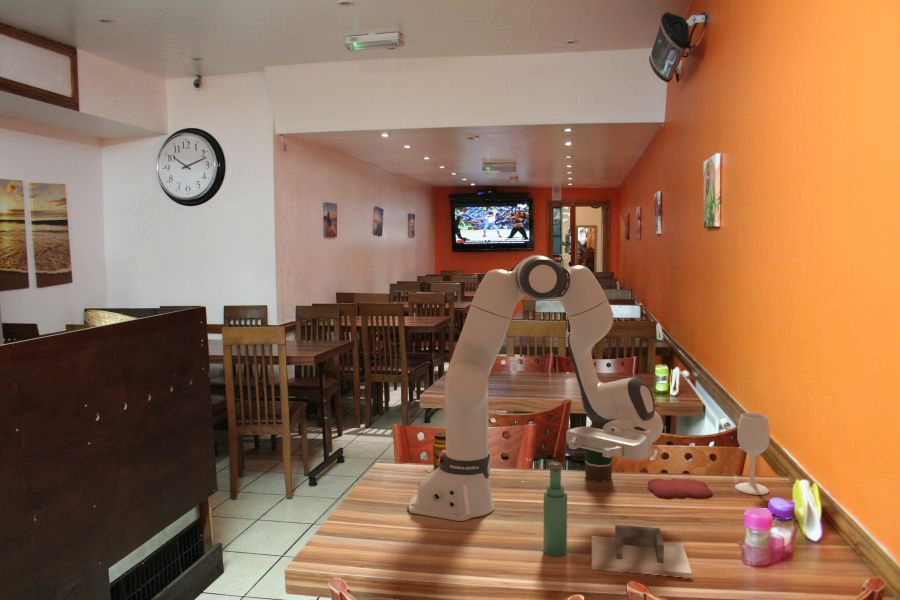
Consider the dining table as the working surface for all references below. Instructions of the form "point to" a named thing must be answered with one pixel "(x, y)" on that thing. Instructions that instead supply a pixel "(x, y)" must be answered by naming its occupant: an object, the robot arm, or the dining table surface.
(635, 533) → the bottle stand
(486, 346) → the robot arm
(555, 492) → the bottle
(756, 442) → the wineglass
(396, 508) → the dining table surface
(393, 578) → the dining table surface
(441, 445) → the condiment
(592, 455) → the beer bottle
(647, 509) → the dining table surface
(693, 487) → the patty
